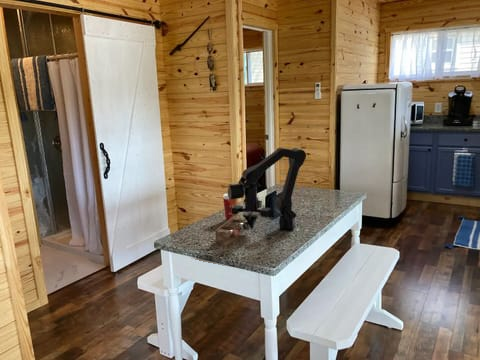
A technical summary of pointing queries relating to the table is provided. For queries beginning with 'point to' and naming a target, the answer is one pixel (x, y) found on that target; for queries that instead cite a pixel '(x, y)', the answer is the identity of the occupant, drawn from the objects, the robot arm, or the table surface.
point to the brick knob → (235, 233)
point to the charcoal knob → (245, 226)
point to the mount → (228, 230)
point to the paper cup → (229, 206)
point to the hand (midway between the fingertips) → (252, 228)
